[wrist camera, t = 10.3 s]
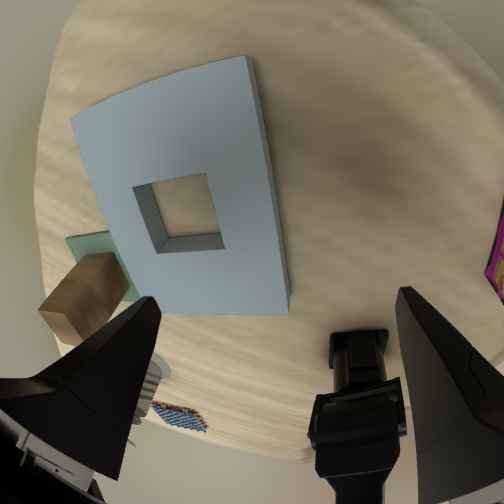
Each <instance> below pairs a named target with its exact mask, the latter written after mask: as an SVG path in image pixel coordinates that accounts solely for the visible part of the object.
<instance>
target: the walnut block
mask: <svg viewBox="0 0 504 504" xmlns="http://www.w3.org/2000/svg"><path fill="white" fill-rule="evenodd" d="M130 287H131V286H130V284H129V282H128V280H127V278H126V276H125V274H124V272H123V270H122V268H121V266H120V264H119V262H118V260H117V257H116V255H115V253H114V252H106V253H95V254H85V255H84V257H83V258H82V259H81V260H80V261H79V262H78V263H77V264H76V265H75V266H74V267H73V269H72V270H71V271H70V272H69V273H68V274H67V275H66V276H65V278H64V279H63V280H62V281H61V282H60V283H59V285H58V286H57V287H56V288H55V289H54V290H53V292H52V293H51V294H50V295H49V296H48V298H47V299H46V300H45V301H44V303H43V304H42V305H41V306H40V308H39V309H38V311H39V313H40V314H41V315H42V317H43V318H44V320H45V321H46V322H47V324H48V325H49V326H50V328H51V329H52V330H53V332H54V333H55V334H56V335H57V337H58V338H59V339H60V341H61V342H62V343H65V344H69V345H73V346H78V345H80V343H82V342H83V341H84V340H86V339H87V338H88V337H89V336H91V335H92V334H93V333H95V332H96V331H97V330H99V329H100V328H101V327H103V326H104V325H105V324H106V323H107V322H108V320H109V319H110V317H111V316H112V314H113V312H114V311H115V309H116V308H117V306H118V305H119V303H120V302H121V300H122V299H123V297H124V296H125V294H126V293H127V291H128V290H129V288H130Z"/></svg>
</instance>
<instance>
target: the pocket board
mask: <svg viewBox="0 0 504 504" xmlns="http://www.w3.org/2000/svg"><path fill="white" fill-rule="evenodd" d="M70 120H71V123H72V127H73V131H74V134H75V137H76V141H77V144H78V148H79V151H80V154H81V157H82V160H83V163H84V166H85V169H86V172H87V175H88V178H89V181H90V183H91V186H92V189H93V192H94V194H95V197H96V200H97V202H98V205H99V207H100V210H101V212H102V215H103V217H104V220H105V222H106V224H107V227H108V229H109V232H110V234H111V236H112V238H113V241H114V243H115V245H116V247H117V250H118V252H119V254H120V256H121V258H122V260H123V262H124V265H125V267H126V269H127V271H128V273H129V275H130V277H131V279H132V281H133V283H134V285H135V287H136V289H137V291H138V293H139V294H140V296H141V297H143V296H153V297H154V298H155V300H156V302H157V304H158V306H159V308H160V310H161V313H165V314H196V315H273V314H289V304H290V288H289V281H288V273H287V265H286V258H285V251H284V244H283V237H282V230H281V223H280V216H279V209H278V203H277V196H276V190H275V184H274V178H273V171H272V165H271V159H270V153H269V148H268V142H267V136H266V130H265V125H264V119H263V114H262V108H261V103H260V98H259V92H258V87H257V82H256V77H255V72H254V67H253V62H252V59H251V58H249V57H247V56H239V57H234V58H230V59H225V60H221V61H217V62H212V63H208V64H205V65H201V66H197V67H194V68H190V69H187V70H183V71H180V72H177V73H174V74H170V75H167V76H164V77H161V78H159V79H156V80H153V81H150V82H147V83H145V84H142V85H140V86H137V87H134V88H132V89H129V90H127V91H125V92H122V93H120V94H118V95H115V96H113V97H111V98H109V99H106V100H104V101H102V102H100V103H98V104H96V105H94V106H92V107H90V108H88V109H86V110H84V111H82V112H80V113H78V114H76V115H74V116H73V117H71V118H70ZM201 173H205V174H206V178H207V182H208V186H209V189H210V193H211V197H212V201H213V205H214V209H215V213H216V216H217V220H218V224H219V228H220V232H221V233H218V234H207V235H196V236H185V237H174V238H168V236H167V233H166V230H165V227H164V225H163V222H162V219H161V216H160V213H159V210H158V207H157V204H156V201H155V198H154V195H153V192H152V189H151V186H150V183H153V182H158V181H163V180H168V179H173V178H178V177H184V176H189V175H195V174H201Z"/></svg>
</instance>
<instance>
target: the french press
mask: <svg viewBox="0 0 504 504" xmlns="http://www.w3.org/2000/svg"><path fill="white" fill-rule="evenodd" d="M169 374H170V369H169V366H168V365H167V364H166V363H165V362H164V360H163V359H162V358H160V357H159V356H158V355H156V354H155V353H154V352H153V355H152V358H151V361H150V364H149V367H148V370H147V373H146V377H145V380H144V383H143V386H142V390H141V393H140V397H139V400H138V403H137V407H136V411H135V414H134V418H133V421H132V424H136V425H139V424H140V423H141V420H140V418H139V417H145V416H146V415H147V412H148V410H149V407H150V405H151V401H152V399H153V397H154V393H155V392H156V390H157V386H158V385H159V382H160V379H163V378H166V377H168V376H169ZM135 448H136V447H135V444H134V443H133V442H132V441H130V440H129V439H128V441H127V444H126V448H125V450H129V449H135Z"/></svg>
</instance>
